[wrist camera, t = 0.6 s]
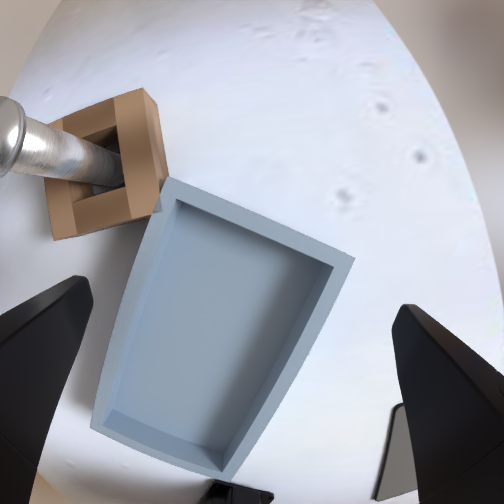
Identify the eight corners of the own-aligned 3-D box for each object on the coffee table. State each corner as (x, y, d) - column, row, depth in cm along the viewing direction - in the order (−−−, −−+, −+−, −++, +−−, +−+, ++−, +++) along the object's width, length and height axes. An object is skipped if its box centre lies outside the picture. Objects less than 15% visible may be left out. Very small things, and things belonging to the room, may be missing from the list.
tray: (230, 455, 24) (229, 482, 21) (104, 405, 23) (89, 427, 20) (339, 250, 22) (355, 258, 18) (179, 181, 21) (167, 176, 18)
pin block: (175, 211, 21) (162, 211, 18) (78, 236, 21) (54, 240, 18) (157, 104, 20) (142, 87, 17) (64, 136, 20) (39, 127, 17)
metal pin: (123, 198, 21) (-2, 190, 8) (89, 183, 21) (-42, 167, 8) (141, 156, 21) (29, 103, 8) (105, 143, 21) (-15, 91, 8)
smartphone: (456, 388, 23) (426, 486, 25) (451, 384, 24) (423, 482, 26) (395, 407, 23) (374, 503, 25) (391, 402, 24) (372, 498, 26)
